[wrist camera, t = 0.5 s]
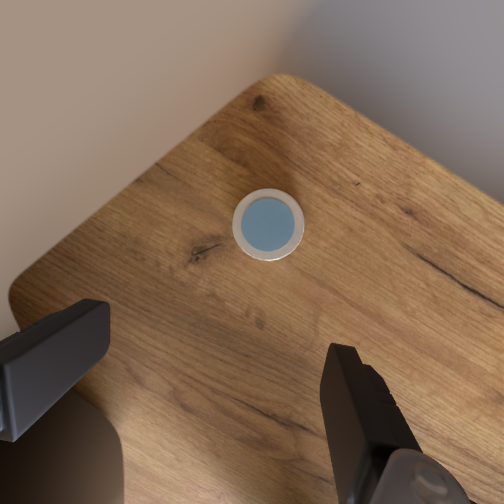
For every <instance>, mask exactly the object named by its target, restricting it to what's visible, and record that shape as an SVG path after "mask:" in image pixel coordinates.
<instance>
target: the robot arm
mask: <svg viewBox="0 0 504 504" xmlns="http://www.w3.org/2000/svg"><path fill="white" fill-rule="evenodd" d="M109 344H110V305H109V304H108V303H107V302H104V301H99V300H93V299H88V298H85V299H82V300H81V301H79V302H77V303H75V304H73V305H72V306H70V307H68V308H66V309H64V310H62V311H59V312H56V313H53V314H50V315H47V316H46V317H44V318H42V319H40V320H38V321H36V322H35V323H33V325H29V326H27V327H25V328H24V329H22V330H21V331H20V332H16V333H15V334H13V335H11V336H9V337H7V338H5V339H3V340H2V341H0V439H1V440H5V441H10V442H14V441H15V440H16V439H18V438H19V437H20V436H21V435H22V434H23V433H24V432H25V431H26V430H27V429H28V428H29V427H30V426H31V425H32V424H33V423H34V422H35V421H36V420H37V419H38V418H40V417H41V416H42V415H43V414H44V413H45V412H46V411H47V410H48V409H49V408H50V407H51V406H52V405H53V404H54V403H55V402H56V401H57V400H58V399H60V398H61V397H62V396H63V395H64V394H65V393H66V392H67V391H68V390H69V389H70V388H71V387H72V386H73V385H74V384H75V383H76V382H77V381H79V380H80V379H81V378H82V377H83V376H84V375H85V374H86V373H87V372H88V371H89V370H90V369H91V368H92V367H93V366H94V365H95V364H96V363H97V362H99V361H100V360H101V359H102V358H103V356H104V355H105V354H106V352H107V350H108V347H109ZM320 403H321V408H322V414H323V419H324V424H325V430H326V435H327V441H328V446H329V451H330V457H331V462H332V467H333V473H334V478H335V484H336V489H337V494H338V500H339V504H477V503H475V502H473V501H471V500H470V499H469V498H468V496H467V494H466V492H465V491H464V489H463V488H462V486H461V485H460V483H459V482H458V481H457V480H456V479H455V477H454V476H453V475H452V474H451V473H450V472H449V471H448V470H447V469H446V468H444V467H443V466H442V465H441V464H439V463H438V462H437V461H435V460H434V459H432V458H431V457H429V456H427V455H425V454H423V452H422V450H421V448H420V446H419V444H418V443H417V441H416V439H415V437H414V435H413V433H412V431H411V430H410V428H409V426H408V424H407V422H406V420H405V418H404V417H403V415H402V413H401V411H400V409H399V407H398V406H396V402H395V400H394V398H393V396H392V394H390V391H389V389H388V387H387V385H386V383H385V381H384V379H383V378H382V377H381V376H380V375H379V374H378V373H377V372H376V371H375V370H374V369H373V368H372V367H371V366H370V365H366V364H363V363H362V361H361V359H360V357H359V355H358V353H357V351H356V349H355V347H353V346H347V345H341V344H336V343H331V344H330V346H329V349H328V353H327V357H326V361H325V365H324V369H323V374H322V378H321V383H320Z"/></svg>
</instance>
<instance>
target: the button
mask: <svg viewBox="0 0 504 504" xmlns="http://www.w3.org/2000/svg"><path fill="white" fill-rule="evenodd" d="M304 227H305V221H304V215H303V212H302V210H301V207H300V206H299V204H298V203H297V202H296V200H295V199H294V198H293V197H292V196H290V195H289V194H287V193H286V192H284V191H282V190H279V189H274V188H263V189H258V190H255V191H253V192H251V193H249V194H248V195H246V196H245V197H244V198H243V199H242V200H241V201H240V202H239V204H238V205H237V207H236V209H235V211H234V214H233V218H232V230H233V235H234V237H235V240H236V242H237V243H238V245H239V246H240V248H241V249H242V250H243V251H244V252H246V253H247V254H248V255H250V256H252V257H254V258H257V259H260V260H277V259H280V258H283V257H285V256H287V255H288V254H290V253H291V252H292V251H293V250H294V249H295V248H296V247H297V246H298V244H299V243H300V241H301V239H302V236H303V233H304Z"/></svg>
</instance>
